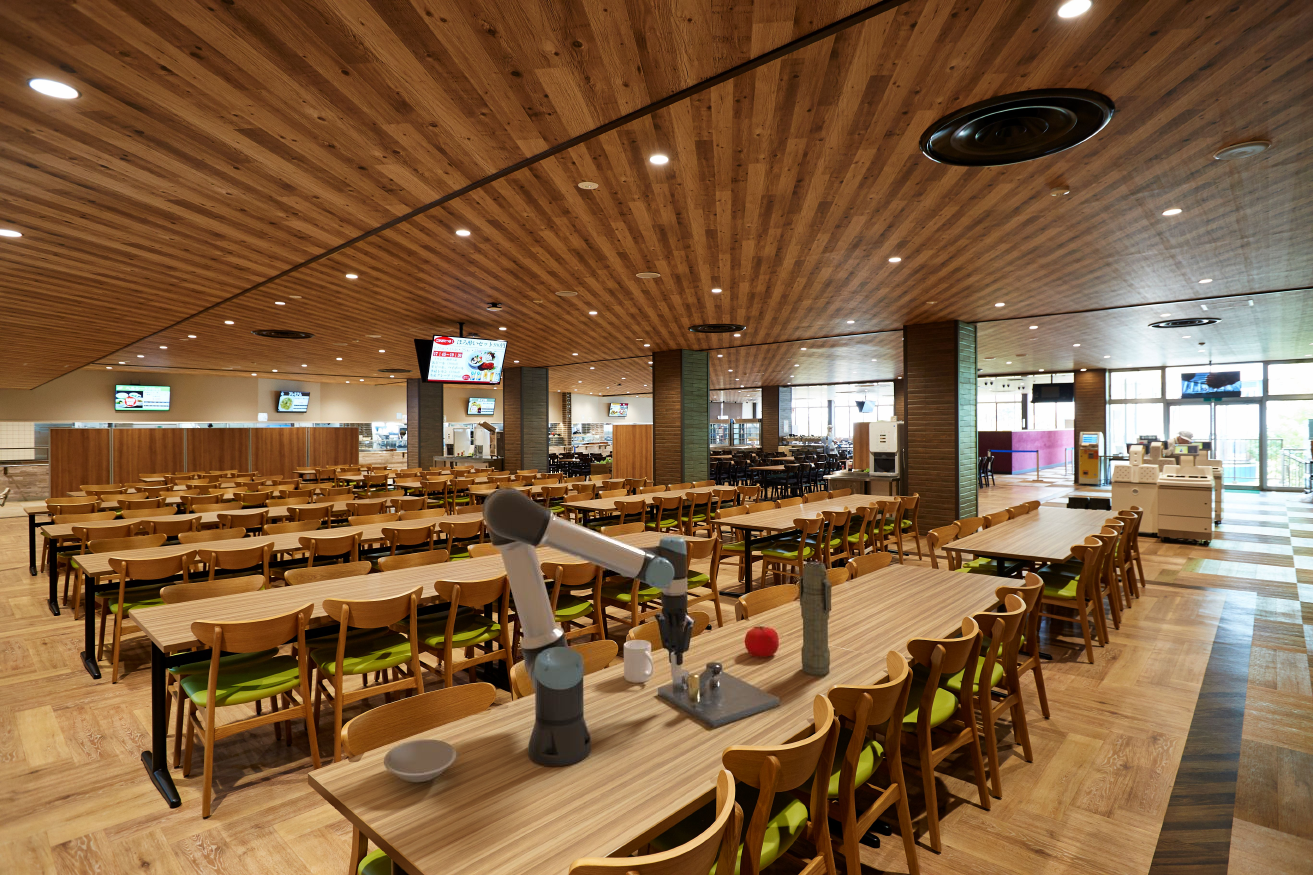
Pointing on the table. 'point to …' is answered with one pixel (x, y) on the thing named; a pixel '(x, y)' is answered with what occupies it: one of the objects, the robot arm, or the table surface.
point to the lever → (702, 680)
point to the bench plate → (719, 699)
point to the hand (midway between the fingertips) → (676, 675)
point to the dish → (420, 759)
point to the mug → (637, 661)
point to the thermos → (815, 618)
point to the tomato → (761, 641)
